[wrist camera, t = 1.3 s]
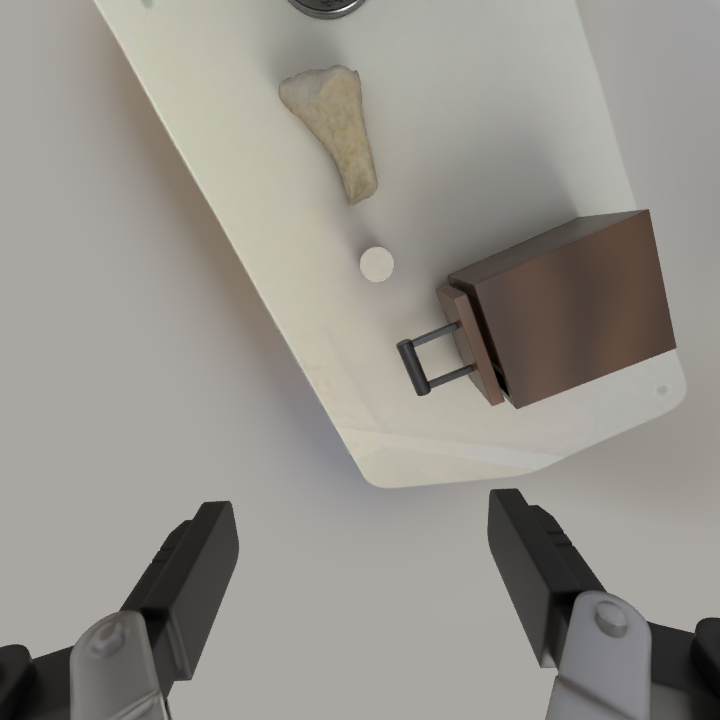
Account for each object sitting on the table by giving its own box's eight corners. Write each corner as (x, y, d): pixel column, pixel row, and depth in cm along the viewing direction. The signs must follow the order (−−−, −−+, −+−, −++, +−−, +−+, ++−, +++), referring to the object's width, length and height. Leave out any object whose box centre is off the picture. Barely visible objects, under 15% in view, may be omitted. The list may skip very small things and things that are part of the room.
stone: (278, 97, 33) (265, 73, 29) (335, 49, 32) (332, 15, 28) (352, 209, 36) (352, 203, 31) (407, 167, 35) (415, 155, 30)
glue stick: (354, 253, 37) (353, 255, 32) (382, 240, 37) (386, 240, 32) (366, 281, 38) (367, 287, 33) (393, 269, 38) (399, 273, 32)
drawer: (419, 398, 41) (431, 430, 34) (382, 311, 38) (387, 327, 31) (584, 332, 39) (633, 351, 32) (557, 235, 36) (605, 233, 29)
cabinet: (483, 374, 41) (516, 409, 32) (447, 275, 38) (473, 284, 29) (606, 325, 39) (676, 348, 31) (579, 217, 36) (649, 208, 28)
